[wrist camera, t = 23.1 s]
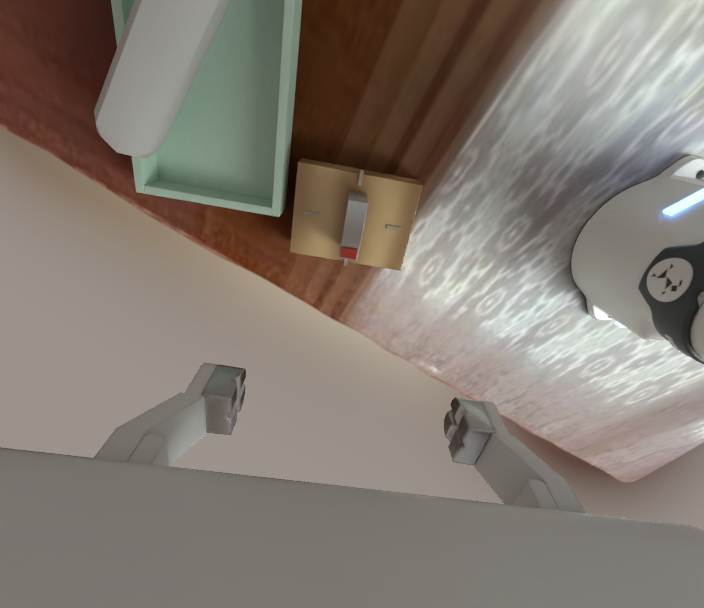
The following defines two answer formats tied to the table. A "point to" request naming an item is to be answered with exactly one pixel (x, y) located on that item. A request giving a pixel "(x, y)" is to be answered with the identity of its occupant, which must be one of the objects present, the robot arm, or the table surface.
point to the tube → (154, 71)
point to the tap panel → (330, 206)
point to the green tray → (232, 114)
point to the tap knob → (353, 225)
